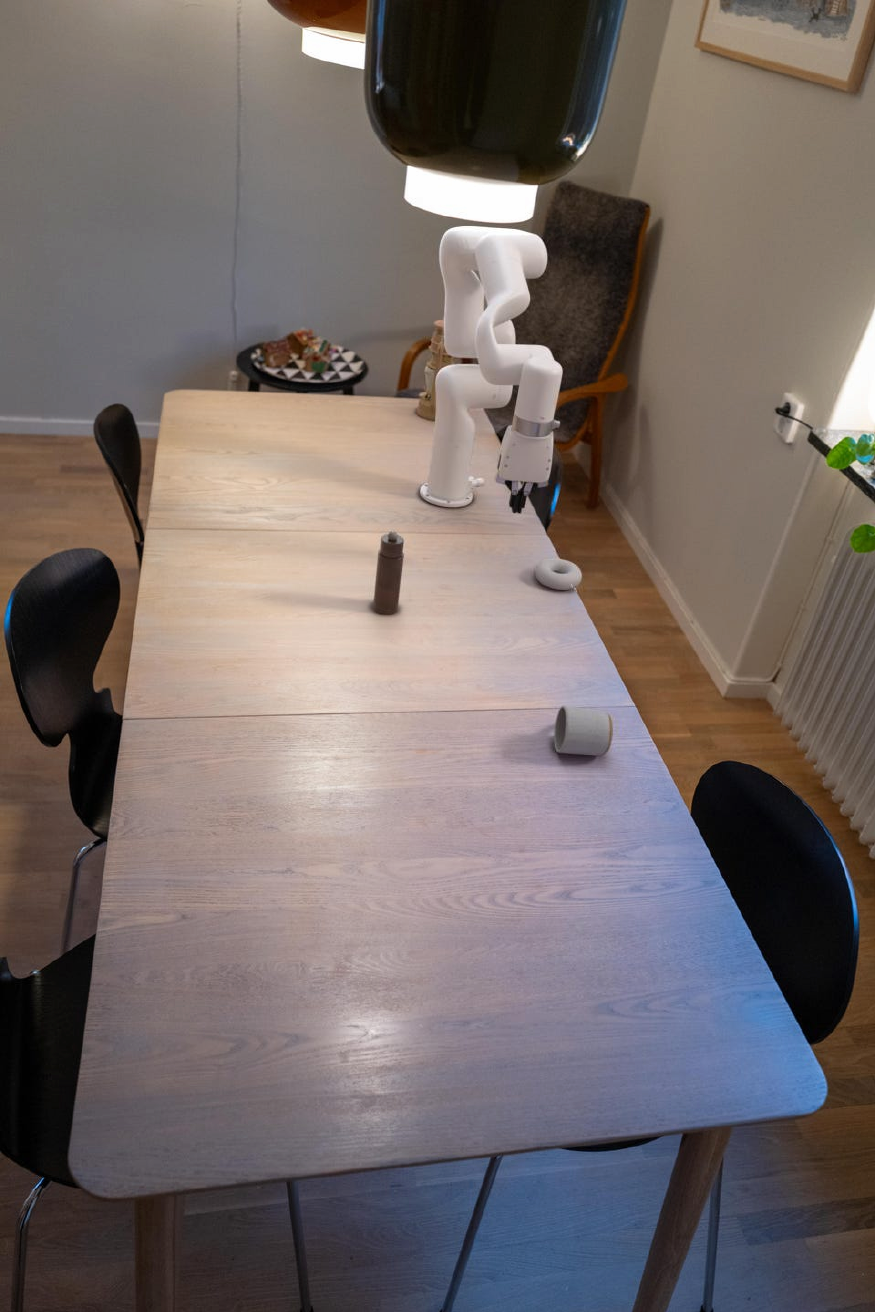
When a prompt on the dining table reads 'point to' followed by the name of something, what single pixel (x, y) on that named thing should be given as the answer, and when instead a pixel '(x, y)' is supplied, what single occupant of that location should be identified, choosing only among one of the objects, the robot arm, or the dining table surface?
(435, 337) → the lantern
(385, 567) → the pepper mill
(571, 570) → the donut
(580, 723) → the ceramic mug
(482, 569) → the dining table surface
